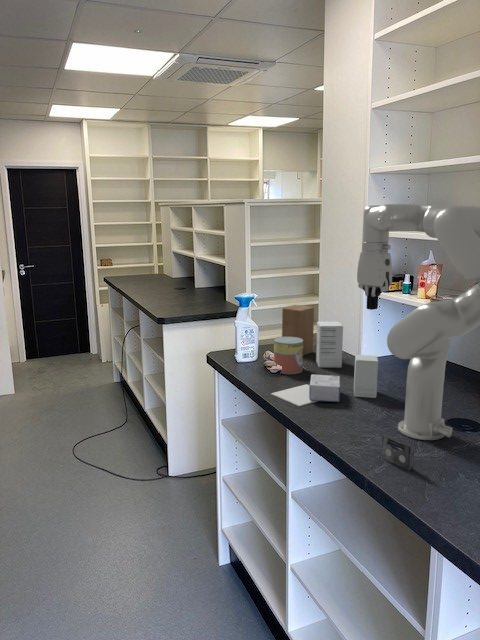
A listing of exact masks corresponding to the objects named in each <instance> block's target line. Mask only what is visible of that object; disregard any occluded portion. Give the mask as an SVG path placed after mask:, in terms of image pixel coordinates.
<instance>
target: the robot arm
mask: <svg viewBox="0 0 480 640" xmlns="http://www.w3.org/2000/svg"><path fill="white" fill-rule="evenodd" d="M362 216H363V218H362V220H363V221H362V238H361V239H362V241H361V242H362V243H361V244H362V245H361V252H360V254H359V259H358V263H357V264H358V265H357V270H356V271H357V273H356V281H357V284H358V285H357V287H358V288H359V289H361V290H363V291H364V295H365V296H366V309H367V310H371V311H373V310H377V309H378V307H379V297H380V296H381V294H382V293H384V292H388V291H389V290H390V289H389V287H390V286H392V285H393V263H392V262H393V261H392V256H391V253H390V252H389V250H390V249H391V248H392V247H391V245H390V244H389V240H390V233H391V232H392V233H393V232H394V233H395V232H420V233H421V232H422V233H425V235H426V236H428V237H430V238H433V239H437V241H438V243H439V244H440V246H441V248H442V249H443V251H444V252H445V254H446V255H447V256H448V258H449V259H450V261H451V262H452V264H453V266H454V267H455V268H456V270H457V271H458V273H459V274H460V275H461V276H462V277H463V278H465V279H466V280H467V281H470V282H473V283H476V284H473V285H472V286H470V287H469V288H468V289H466V290H465V291H464V292H462V293H461V294H459V295H458V296H456V297H454V298H452V299H445V300H439V301H433V302H428V303H424V304H421V305H420V306H417V308H414V309H413V310H412V311H411V312H410V313H408V314H406V316H404V317H402V319H400V320H399V321H398V322H396V323H395V324H394V325H393V326H391V329H390V330H389V332H388V334H387V337H386V344H387V348H388V350H389V352H390V354H392V355H393V356H394V357H396V358H398V359H400V360H401V359H402V360H409V363H408V366H407V373H406V374H407V375H406V384H405V385H406V388H405V401H404V402H405V404H404V419H403V420H401V421H399V422H398V424H397V430H398V431H399V432H400V434H402V435H405V436H406V437H408V438H409V437H410V438H412V439H415V440H422V441H435V440H440V439H443V438H445V437H447V438H451V436H452V434H453V427H451V426H448V425H446V424H445V421H446V420H445V418H442V410H443V409H442V407H443V397H444V385H445V384H444V383H445V375H446V374H445V372H446V365H447V360H448V355H449V352H450V349H451V344H452V339H455V338H460V337H463V336H465V335H466V334H468V333H470V332H472V330H474V329H476V328H477V327H479V326H480V206H476V205H462V204H461V205H460V204H459V205H458V204H444V203H443V204H441V203H440V204H439V203H438V204H437V203H435V204H433V205H431V204H430V205H429V204H417V203H416V204H412V203H411V204H410V203H409V204H408V203H388V204H382V205H379V204H377V205H374V204H373V205H372V204H371V205H367V206H365V207H364V209H363V215H362Z"/></svg>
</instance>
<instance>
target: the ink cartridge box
mask: <svg viewBox="0 0 480 640" xmlns="http://www.w3.org/2000/svg"><path fill="white" fill-rule="evenodd" d="M309 385H310V386H309V399H310V400H311V401H317V402H327V403H328V402H329V403H330V402H331V403H340V402H341V377H340V375H329V374H328V375H325V374H311V375H310V382H309Z"/></svg>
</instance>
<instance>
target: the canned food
mask: <svg viewBox="0 0 480 640" xmlns="http://www.w3.org/2000/svg"><path fill="white" fill-rule="evenodd" d="M303 356H304V355H303V339H301V338H298V337H282V336H278V337H275V338H274V339H273V363H274V362H275V363H276V364H278V365H280V366H282V370H281V372H280V373H279V374H281V373H282V375H296V374H300V373H302V372H303V370H304V369H303Z"/></svg>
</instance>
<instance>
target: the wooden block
mask: <svg viewBox="0 0 480 640" xmlns="http://www.w3.org/2000/svg"><path fill="white" fill-rule="evenodd" d="M281 310H282V313H281V320H282V322H281V337H298V338H301V339H303V356H305V355H309V354H312V353H313V351H314V326H315V325H314V324H315V323H314V321H315V308H314V307H313V306H306V305H297V304H295V305H290V306H284V307H282V309H281Z"/></svg>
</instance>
